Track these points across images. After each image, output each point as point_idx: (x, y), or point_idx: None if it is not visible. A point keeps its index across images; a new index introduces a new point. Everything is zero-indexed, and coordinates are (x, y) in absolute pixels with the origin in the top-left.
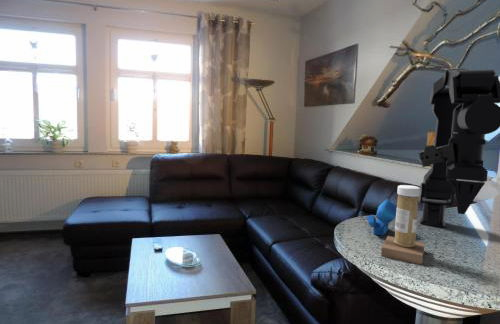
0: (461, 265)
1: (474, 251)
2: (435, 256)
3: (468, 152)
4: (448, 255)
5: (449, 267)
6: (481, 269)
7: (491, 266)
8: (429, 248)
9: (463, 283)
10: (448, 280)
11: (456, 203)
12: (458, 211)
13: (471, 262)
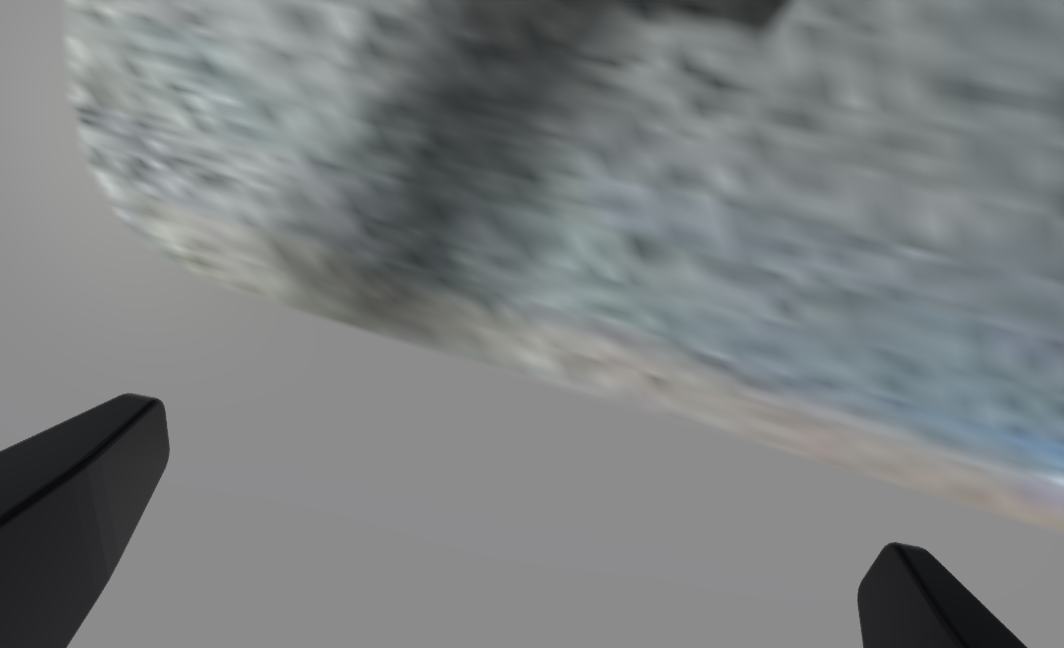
0: (556, 205)
1: (907, 373)
2: (696, 39)
3: None
4: (757, 160)
5: (472, 106)
6: (534, 312)
7: (618, 384)
8: (919, 21)
9: (214, 134)
10: (202, 40)
11: (894, 544)
12: (106, 411)
13: (649, 289)
